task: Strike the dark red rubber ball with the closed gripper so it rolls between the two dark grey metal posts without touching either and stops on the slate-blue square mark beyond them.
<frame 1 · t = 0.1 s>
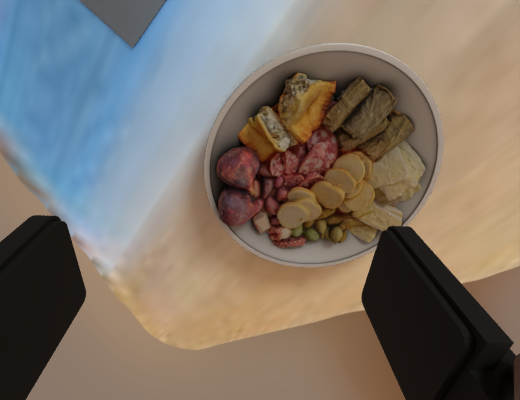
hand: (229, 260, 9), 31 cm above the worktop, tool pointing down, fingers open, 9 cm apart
bowl: (315, 162, 42), on the worktop
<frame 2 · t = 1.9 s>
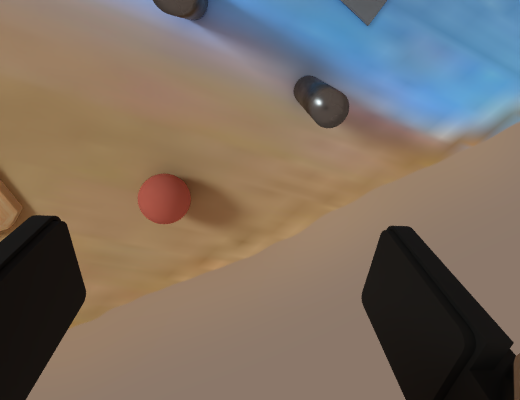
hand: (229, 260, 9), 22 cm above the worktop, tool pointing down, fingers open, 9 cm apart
post 1: (307, 90, 28), on the worktop
post 2: (191, 1, 24), on the worktop
ball: (164, 198, 30), on the worktop
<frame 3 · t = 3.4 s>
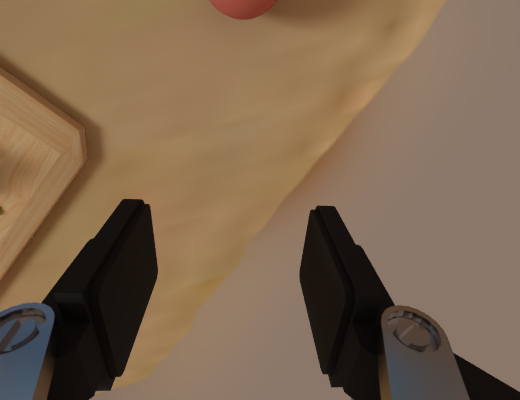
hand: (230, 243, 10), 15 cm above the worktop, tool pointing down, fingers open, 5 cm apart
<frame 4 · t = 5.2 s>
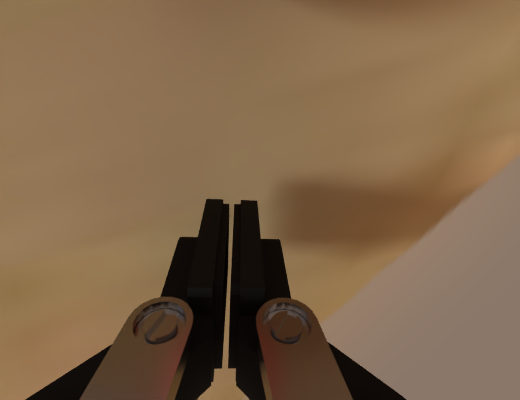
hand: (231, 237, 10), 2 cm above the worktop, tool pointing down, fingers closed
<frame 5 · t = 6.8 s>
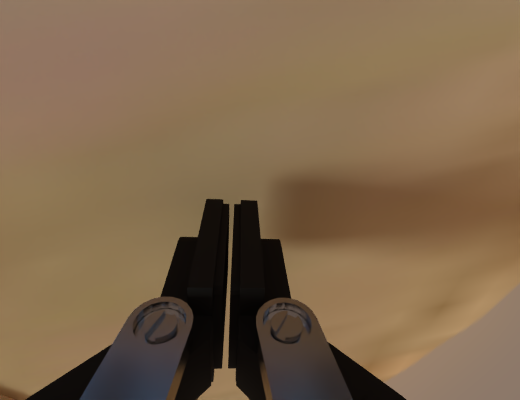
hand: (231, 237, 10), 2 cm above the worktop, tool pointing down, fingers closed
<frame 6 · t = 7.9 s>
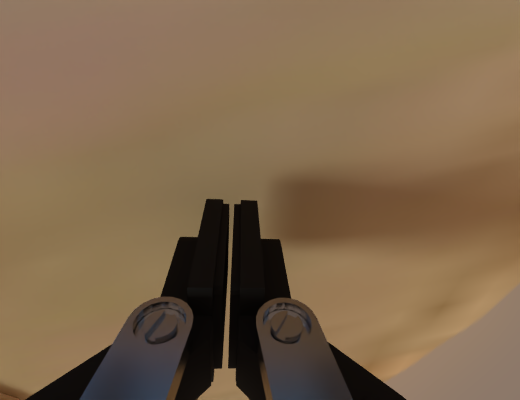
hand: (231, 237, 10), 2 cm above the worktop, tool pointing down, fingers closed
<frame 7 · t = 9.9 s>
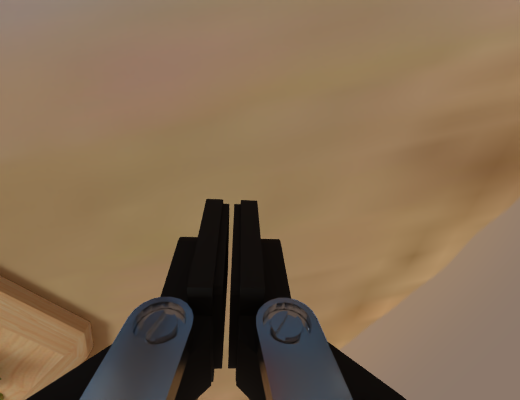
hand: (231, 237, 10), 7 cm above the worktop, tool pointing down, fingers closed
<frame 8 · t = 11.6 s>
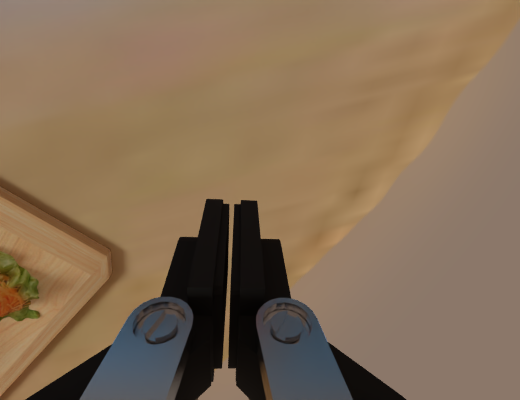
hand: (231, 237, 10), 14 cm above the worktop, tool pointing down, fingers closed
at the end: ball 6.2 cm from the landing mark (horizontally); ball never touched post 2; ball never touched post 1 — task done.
